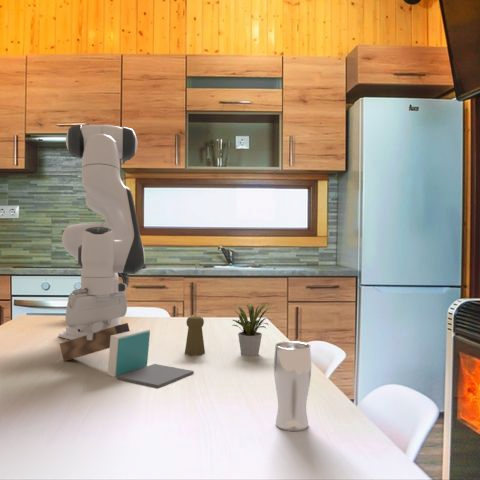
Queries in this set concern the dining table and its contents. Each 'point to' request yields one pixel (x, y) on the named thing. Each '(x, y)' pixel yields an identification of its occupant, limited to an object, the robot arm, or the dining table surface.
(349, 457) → the dining table surface
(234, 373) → the dining table surface
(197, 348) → the olive tapered upright piece
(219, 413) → the dining table surface
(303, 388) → the beer glass
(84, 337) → the wooden handle bar
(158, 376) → the mat
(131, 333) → the tile
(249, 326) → the house plant
